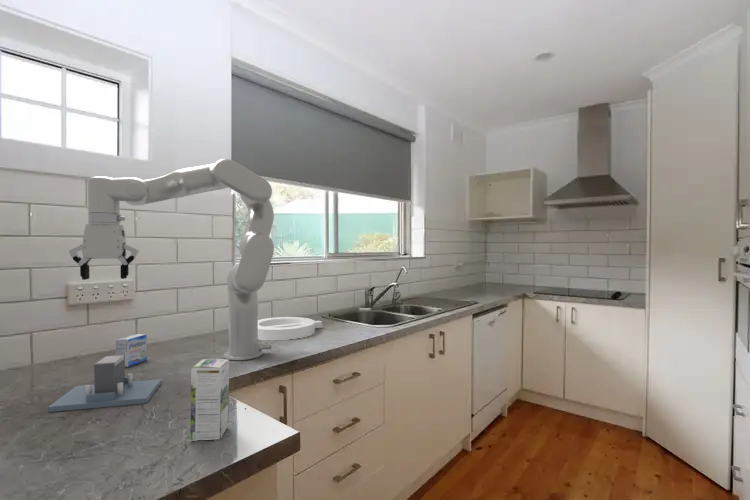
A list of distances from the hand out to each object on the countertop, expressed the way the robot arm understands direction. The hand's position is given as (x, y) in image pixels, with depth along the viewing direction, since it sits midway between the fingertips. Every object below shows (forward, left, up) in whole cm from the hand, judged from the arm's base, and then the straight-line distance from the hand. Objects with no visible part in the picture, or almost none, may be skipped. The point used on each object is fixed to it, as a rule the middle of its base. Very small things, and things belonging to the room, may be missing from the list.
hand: (105, 278), depth 116 cm
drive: (-8, +19, -27) cm, 34 cm away
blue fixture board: (-8, +19, -28) cm, 35 cm away
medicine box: (-4, -11, -28) cm, 30 cm away
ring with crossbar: (-52, -44, -29) cm, 74 cm away
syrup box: (-35, +47, -28) cm, 65 cm away
